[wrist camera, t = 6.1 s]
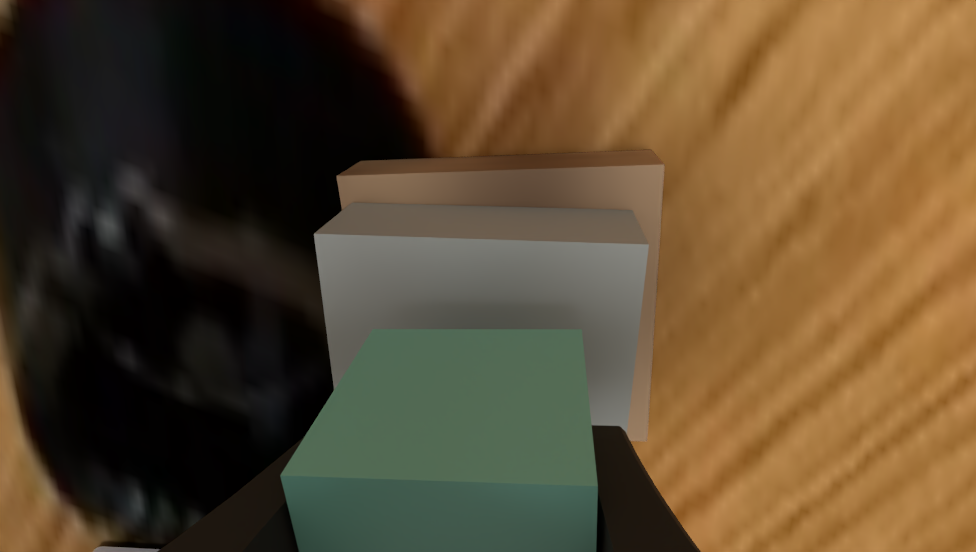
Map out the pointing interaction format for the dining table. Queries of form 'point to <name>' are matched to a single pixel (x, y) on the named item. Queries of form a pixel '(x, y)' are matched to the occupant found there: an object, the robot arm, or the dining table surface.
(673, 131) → the dining table surface
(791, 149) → the dining table surface
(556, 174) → the tower base
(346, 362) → the tower top
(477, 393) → the teal block
